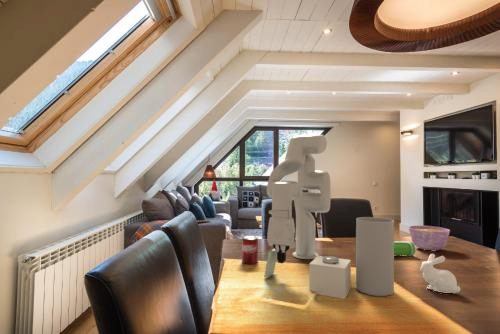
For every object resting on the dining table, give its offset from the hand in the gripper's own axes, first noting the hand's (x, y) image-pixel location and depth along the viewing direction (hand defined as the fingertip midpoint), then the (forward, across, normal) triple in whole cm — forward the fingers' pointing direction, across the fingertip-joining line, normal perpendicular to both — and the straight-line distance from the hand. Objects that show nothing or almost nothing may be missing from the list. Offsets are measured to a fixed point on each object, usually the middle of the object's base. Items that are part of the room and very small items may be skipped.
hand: (281, 262), depth 123 cm
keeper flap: (+6, -5, 0) cm, 8 cm away
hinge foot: (+7, -4, 0) cm, 8 cm away
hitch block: (+7, +19, -1) cm, 20 cm away
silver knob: (+6, +19, -1) cm, 20 cm away
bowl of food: (+7, +54, +86) cm, 102 cm away
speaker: (+8, +38, +62) cm, 73 cm away
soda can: (+7, -20, +14) cm, 26 cm away
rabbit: (+7, +53, +17) cm, 56 cm away
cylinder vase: (+7, +33, +6) cm, 34 cm away
